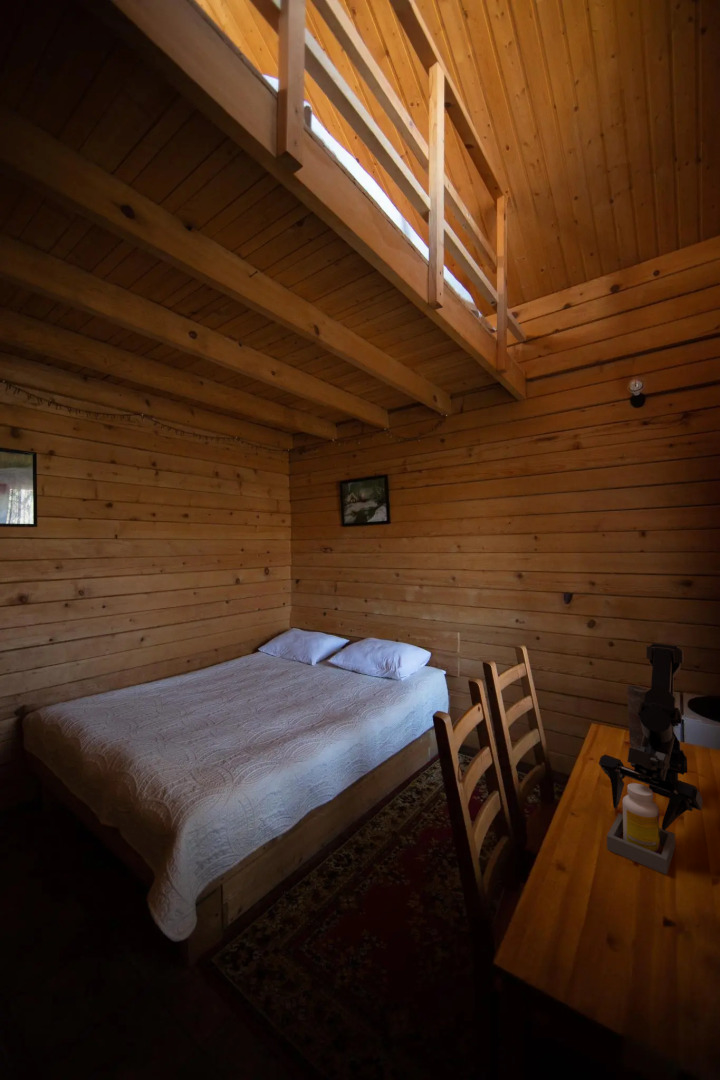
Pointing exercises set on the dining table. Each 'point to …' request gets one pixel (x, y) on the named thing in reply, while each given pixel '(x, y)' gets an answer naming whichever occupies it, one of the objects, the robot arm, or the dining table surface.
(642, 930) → the dining table surface
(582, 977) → the dining table surface
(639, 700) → the candle
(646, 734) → the robot arm
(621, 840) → the holder
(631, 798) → the supplement bottle
